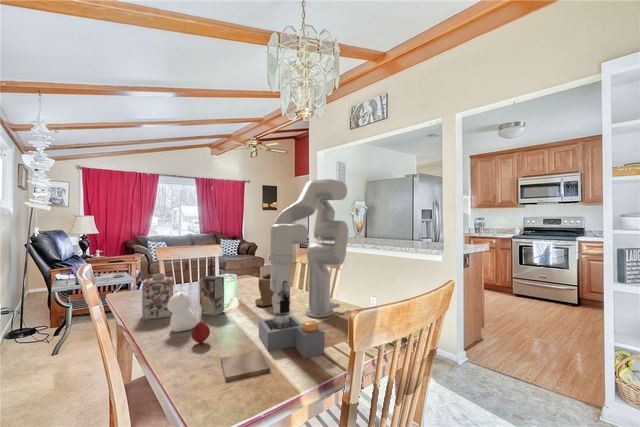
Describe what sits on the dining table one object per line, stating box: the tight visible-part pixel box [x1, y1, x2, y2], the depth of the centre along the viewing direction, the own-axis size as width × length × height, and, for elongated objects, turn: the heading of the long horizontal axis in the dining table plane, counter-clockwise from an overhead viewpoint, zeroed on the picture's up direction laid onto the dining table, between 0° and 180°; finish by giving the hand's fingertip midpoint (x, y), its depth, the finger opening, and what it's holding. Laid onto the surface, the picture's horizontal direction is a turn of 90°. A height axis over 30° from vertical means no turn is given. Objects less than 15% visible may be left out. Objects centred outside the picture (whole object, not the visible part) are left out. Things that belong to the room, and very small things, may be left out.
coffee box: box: [199, 275, 225, 317], centre depth 135 cm, size 9×6×16 cm
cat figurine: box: [167, 289, 203, 333], centre depth 116 cm, size 9×12×15 cm
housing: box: [258, 314, 325, 359], centre depth 101 cm, size 16×22×7 cm
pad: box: [220, 350, 271, 382], centre depth 87 cm, size 12×12×1 cm
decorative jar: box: [141, 272, 174, 321], centre depth 132 cm, size 12×12×18 cm
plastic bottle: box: [271, 293, 290, 330], centre depth 105 cm, size 6×7×20 cm
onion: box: [191, 319, 211, 345], centre depth 102 cm, size 6×6×8 cm
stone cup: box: [254, 272, 273, 307], centre depth 148 cm, size 15×12×15 cm
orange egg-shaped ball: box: [301, 319, 319, 332], centre depth 96 cm, size 5×5×6 cm
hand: (280, 308), depth 104 cm, fingers open, 9 cm apart
